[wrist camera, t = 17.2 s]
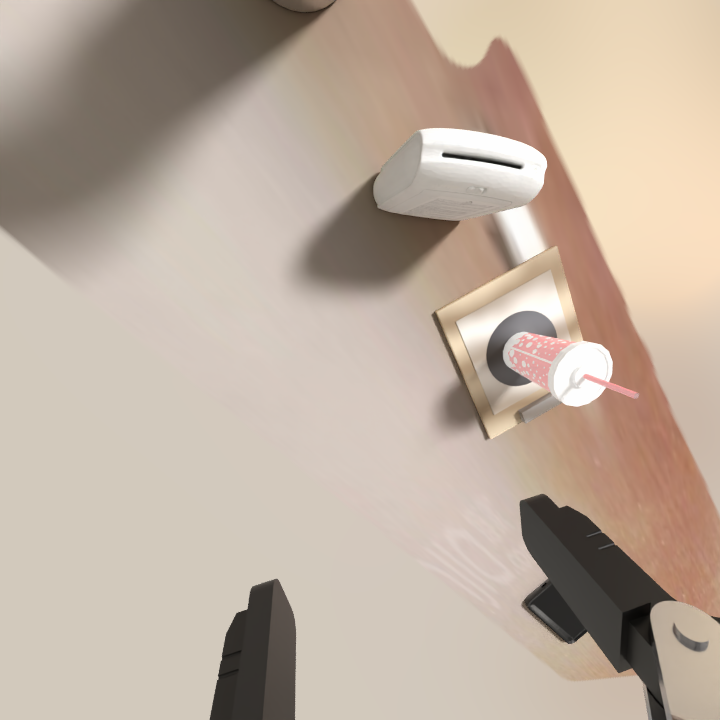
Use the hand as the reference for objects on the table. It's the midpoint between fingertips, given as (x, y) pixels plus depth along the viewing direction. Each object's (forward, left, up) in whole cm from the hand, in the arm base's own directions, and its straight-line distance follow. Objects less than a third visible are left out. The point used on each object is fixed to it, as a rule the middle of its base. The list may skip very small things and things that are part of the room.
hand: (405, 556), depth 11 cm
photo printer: (-9, +16, -27) cm, 32 cm away
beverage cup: (+11, +19, -26) cm, 34 cm away
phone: (+56, +13, -27) cm, 63 cm away
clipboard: (+11, +20, -27) cm, 35 cm away
